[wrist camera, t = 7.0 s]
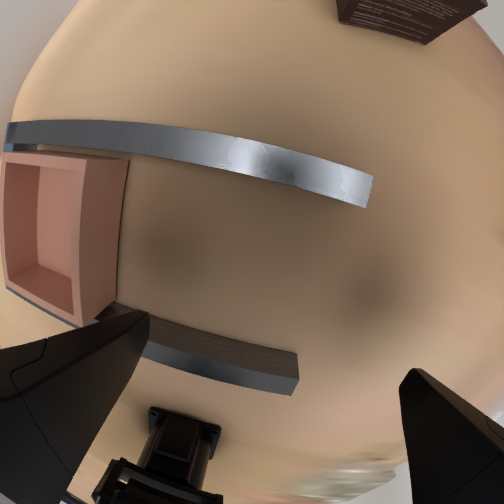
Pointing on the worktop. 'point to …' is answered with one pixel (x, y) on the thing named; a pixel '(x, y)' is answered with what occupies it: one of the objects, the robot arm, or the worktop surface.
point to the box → (408, 16)
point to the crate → (61, 229)
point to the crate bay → (219, 156)
